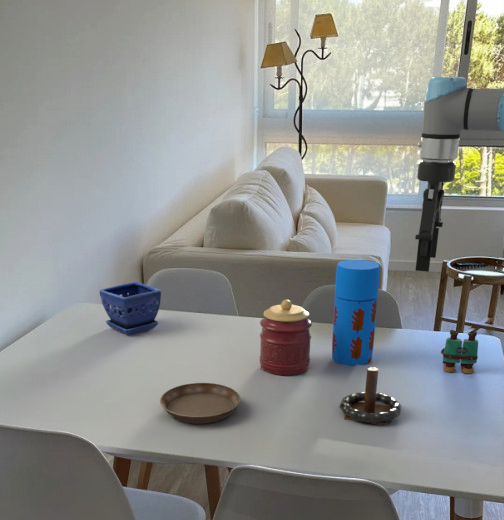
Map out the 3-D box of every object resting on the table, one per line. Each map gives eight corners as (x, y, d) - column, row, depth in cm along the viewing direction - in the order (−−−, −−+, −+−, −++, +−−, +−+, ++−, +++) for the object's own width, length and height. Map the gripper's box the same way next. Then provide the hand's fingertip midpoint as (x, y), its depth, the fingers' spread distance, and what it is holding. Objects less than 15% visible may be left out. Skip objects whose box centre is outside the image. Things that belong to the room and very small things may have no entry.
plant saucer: (213, 435, 146) (213, 422, 145) (144, 416, 154) (143, 404, 153) (254, 404, 160) (254, 392, 159) (189, 389, 168) (189, 377, 167)
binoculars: (478, 325, 182) (483, 334, 173) (472, 364, 186) (477, 375, 177) (442, 323, 184) (445, 331, 174) (438, 362, 187) (440, 372, 178)
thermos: (378, 356, 189) (387, 263, 178) (361, 368, 181) (369, 271, 170) (342, 348, 194) (348, 257, 183) (324, 360, 186) (329, 265, 175)
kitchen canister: (288, 354, 190) (290, 290, 182) (320, 368, 180) (323, 301, 173) (249, 364, 183) (249, 298, 175) (280, 380, 173) (282, 310, 166)
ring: (402, 402, 158) (403, 394, 157) (397, 427, 147) (398, 418, 146) (344, 396, 161) (345, 388, 160) (335, 419, 150) (336, 411, 149)
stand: (392, 412, 157) (397, 364, 152) (385, 429, 149) (390, 379, 144) (352, 406, 160) (356, 359, 155) (343, 423, 152) (347, 373, 147)
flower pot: (126, 339, 200) (123, 298, 195) (101, 327, 209) (97, 288, 204) (164, 329, 208) (162, 289, 203) (138, 318, 217) (136, 280, 212)
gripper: (426, 154, 156) (415, 250, 165) (411, 165, 135) (400, 275, 144) (460, 155, 154) (448, 253, 163) (451, 167, 133) (437, 278, 142)
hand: (425, 263), depth 154 cm, fingers open, 13 cm apart
